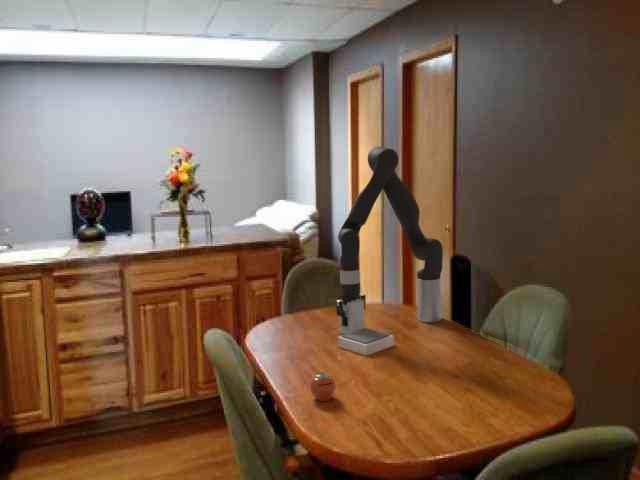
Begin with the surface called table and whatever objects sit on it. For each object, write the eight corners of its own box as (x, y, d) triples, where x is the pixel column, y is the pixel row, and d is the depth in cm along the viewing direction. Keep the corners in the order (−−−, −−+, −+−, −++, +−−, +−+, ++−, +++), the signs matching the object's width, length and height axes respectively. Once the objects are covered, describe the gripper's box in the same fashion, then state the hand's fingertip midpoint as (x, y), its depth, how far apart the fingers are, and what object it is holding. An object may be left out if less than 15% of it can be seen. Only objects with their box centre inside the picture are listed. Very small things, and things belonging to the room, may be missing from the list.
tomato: (314, 405, 157) (312, 377, 156) (307, 395, 164) (305, 368, 163) (339, 401, 159) (338, 373, 158) (331, 391, 166) (330, 364, 165)
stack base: (365, 337, 214) (365, 326, 213) (393, 345, 204) (393, 334, 203) (338, 346, 205) (337, 335, 204) (366, 355, 195) (366, 344, 194)
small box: (365, 333, 218) (364, 300, 216) (353, 337, 214) (351, 303, 212) (351, 329, 224) (349, 296, 223) (338, 333, 220) (337, 300, 219)
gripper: (356, 276, 224) (358, 318, 226) (329, 283, 214) (331, 326, 217) (370, 279, 218) (372, 321, 221) (343, 286, 209) (344, 330, 211)
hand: (351, 324), depth 219 cm, fingers closed on small box, 6 cm apart
